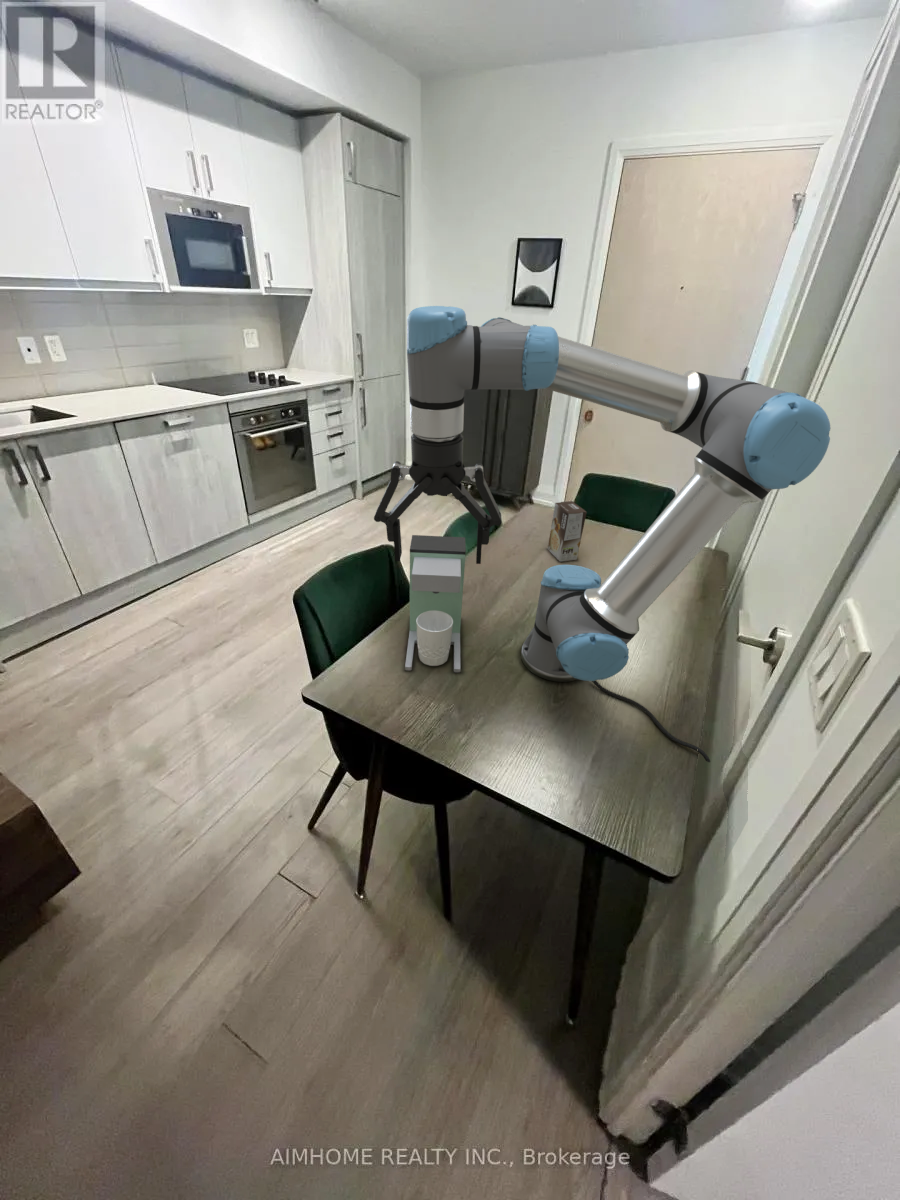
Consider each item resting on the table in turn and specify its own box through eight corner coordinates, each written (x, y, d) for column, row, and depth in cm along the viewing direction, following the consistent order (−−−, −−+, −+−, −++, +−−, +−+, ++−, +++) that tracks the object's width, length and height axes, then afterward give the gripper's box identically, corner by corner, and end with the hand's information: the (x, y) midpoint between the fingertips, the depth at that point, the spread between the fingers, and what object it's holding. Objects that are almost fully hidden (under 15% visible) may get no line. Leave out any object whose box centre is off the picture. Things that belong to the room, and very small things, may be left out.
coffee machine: (460, 672, 105) (466, 583, 93) (404, 670, 105) (404, 580, 93) (459, 619, 122) (465, 537, 110) (411, 617, 122) (412, 534, 110)
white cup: (446, 670, 106) (448, 634, 100) (412, 664, 107) (412, 628, 101) (454, 648, 112) (456, 613, 107) (420, 643, 113) (421, 607, 108)
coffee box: (577, 560, 152) (588, 512, 143) (559, 562, 150) (569, 513, 141) (563, 547, 159) (572, 500, 150) (546, 548, 157) (554, 502, 149)
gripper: (522, 426, 72) (511, 548, 85) (356, 422, 73) (369, 544, 86) (526, 444, 66) (513, 573, 79) (344, 440, 67) (361, 567, 80)
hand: (438, 558), depth 82 cm, fingers open, 13 cm apart
